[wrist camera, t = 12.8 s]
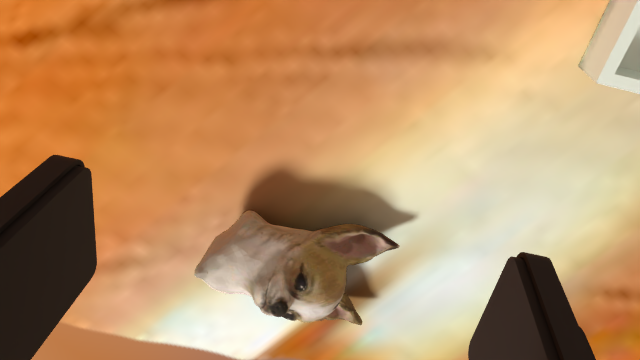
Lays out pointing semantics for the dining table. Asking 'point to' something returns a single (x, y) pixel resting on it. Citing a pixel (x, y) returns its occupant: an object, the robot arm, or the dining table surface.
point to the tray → (616, 47)
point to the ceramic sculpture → (290, 266)
